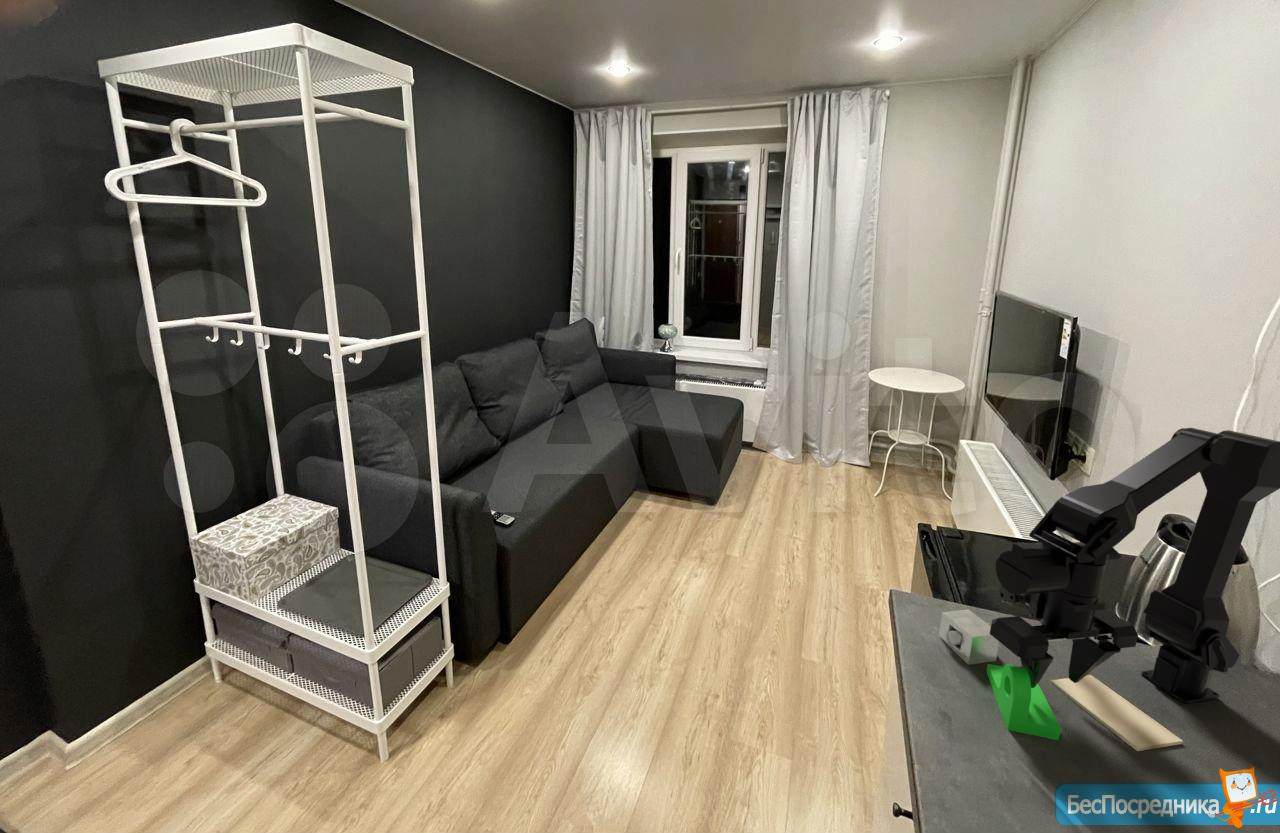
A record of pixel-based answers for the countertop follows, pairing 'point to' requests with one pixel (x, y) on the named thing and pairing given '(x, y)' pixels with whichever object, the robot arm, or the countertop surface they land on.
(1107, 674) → the countertop surface
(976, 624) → the bearing block
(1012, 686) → the mechanical part
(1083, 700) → the beige wooden board
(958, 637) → the shaft
